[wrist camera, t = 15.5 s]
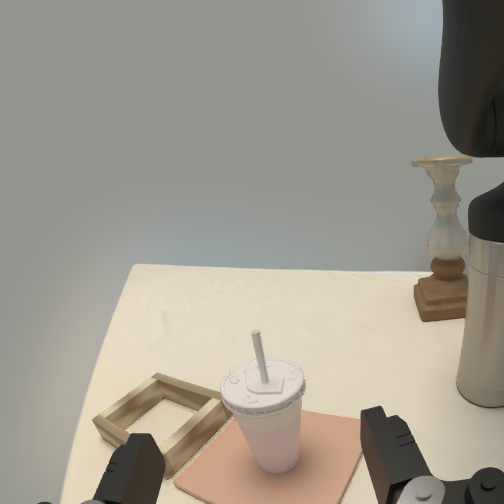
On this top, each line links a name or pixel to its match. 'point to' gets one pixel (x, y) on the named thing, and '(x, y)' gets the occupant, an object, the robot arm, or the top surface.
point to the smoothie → (267, 407)
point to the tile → (283, 484)
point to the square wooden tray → (185, 437)
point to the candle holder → (444, 245)
